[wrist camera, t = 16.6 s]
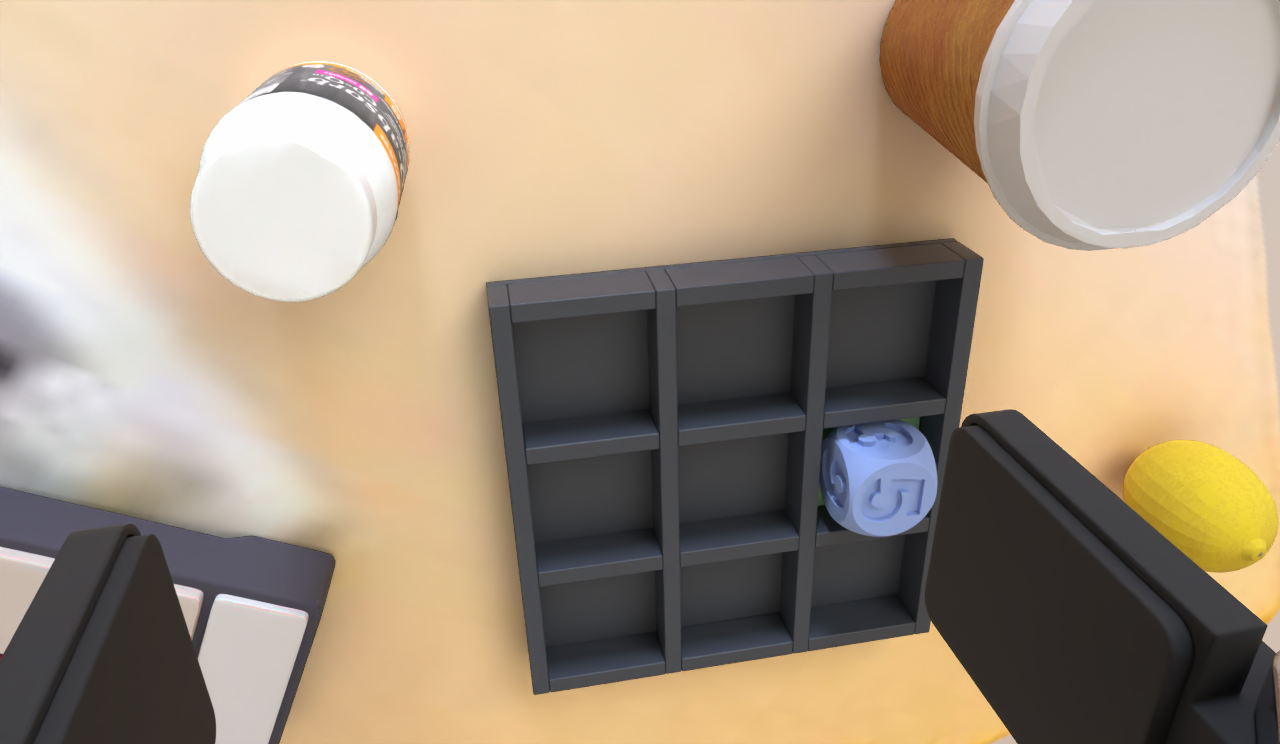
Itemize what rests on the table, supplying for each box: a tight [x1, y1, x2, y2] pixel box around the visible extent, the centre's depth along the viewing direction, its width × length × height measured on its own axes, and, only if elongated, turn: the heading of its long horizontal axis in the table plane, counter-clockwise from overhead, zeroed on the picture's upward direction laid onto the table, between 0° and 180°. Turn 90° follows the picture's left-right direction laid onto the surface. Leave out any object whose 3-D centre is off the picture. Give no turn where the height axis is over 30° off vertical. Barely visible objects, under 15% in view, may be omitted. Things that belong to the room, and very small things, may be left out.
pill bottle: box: [190, 61, 409, 302], centre depth 29 cm, size 6×6×10 cm
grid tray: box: [486, 238, 983, 695], centre depth 42 cm, size 20×20×3 cm
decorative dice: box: [819, 419, 937, 537], centre depth 41 cm, size 4×4×4 cm
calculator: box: [0, 487, 335, 744], centre depth 39 cm, size 11×4×15 cm
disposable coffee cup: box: [880, 0, 1280, 251], centre depth 31 cm, size 10×10×12 cm
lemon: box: [1123, 440, 1278, 573], centre depth 44 cm, size 6×6×8 cm
